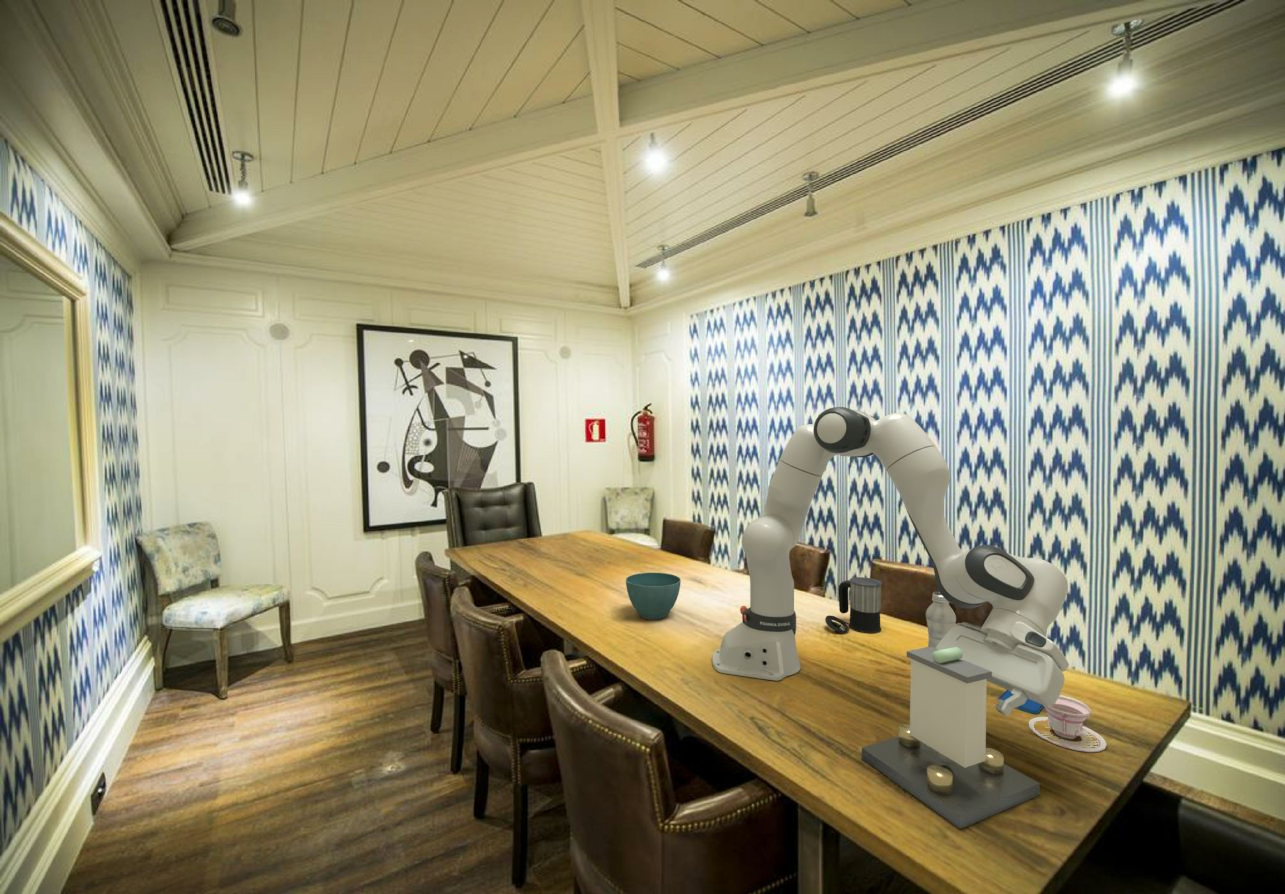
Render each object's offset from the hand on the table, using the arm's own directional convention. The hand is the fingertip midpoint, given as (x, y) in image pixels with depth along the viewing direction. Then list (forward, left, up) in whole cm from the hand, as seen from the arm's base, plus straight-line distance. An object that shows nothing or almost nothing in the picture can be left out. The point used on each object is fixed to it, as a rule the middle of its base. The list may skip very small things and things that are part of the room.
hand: (974, 699), depth 93 cm
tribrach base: (-6, -4, -12) cm, 14 cm away
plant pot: (-66, +72, -12) cm, 99 cm away
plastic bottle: (+10, +38, -12) cm, 42 cm away
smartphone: (+24, +28, -13) cm, 39 cm away
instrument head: (-6, -4, -10) cm, 12 cm away
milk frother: (-4, +68, -12) cm, 69 cm away
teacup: (+23, +13, -12) cm, 29 cm away
